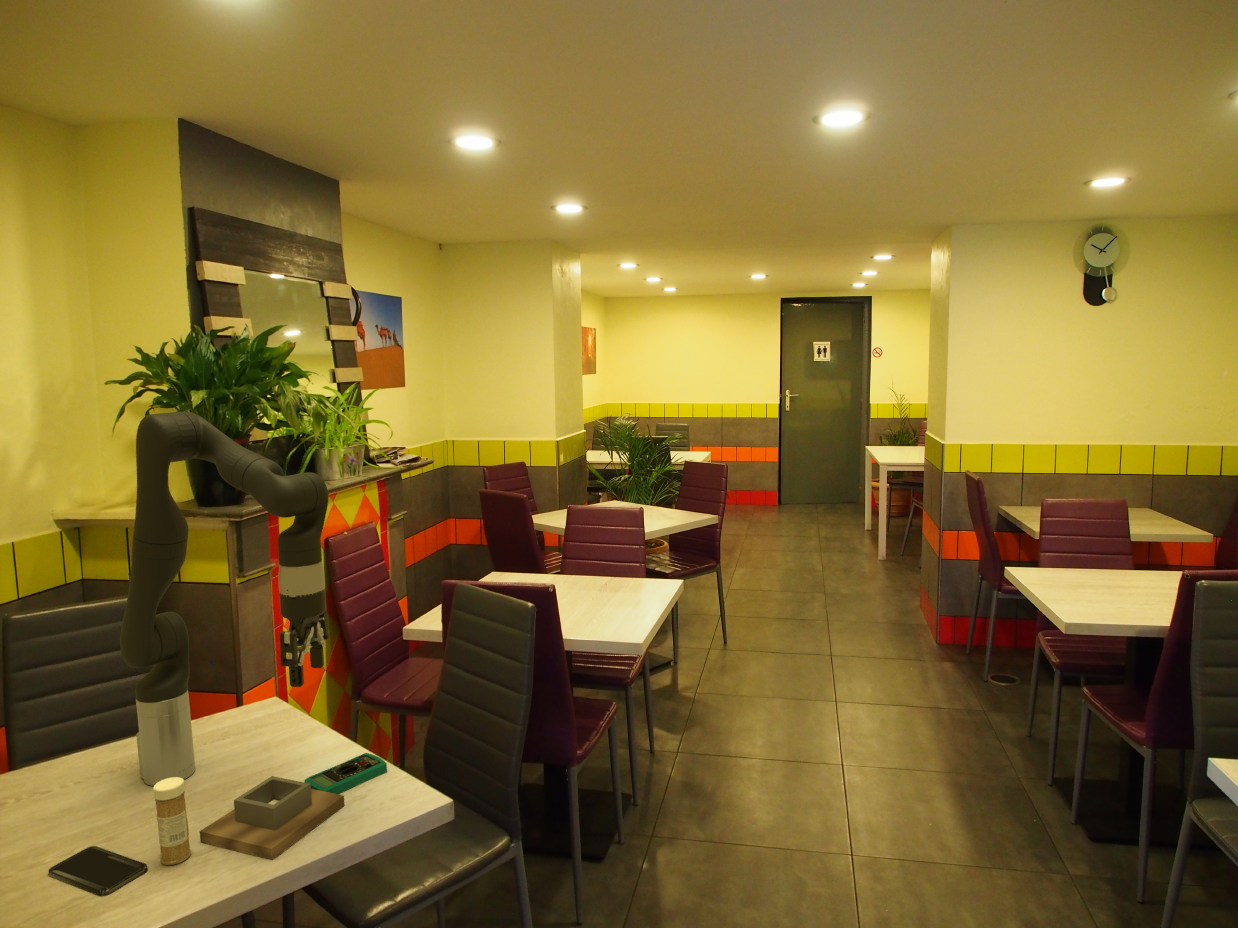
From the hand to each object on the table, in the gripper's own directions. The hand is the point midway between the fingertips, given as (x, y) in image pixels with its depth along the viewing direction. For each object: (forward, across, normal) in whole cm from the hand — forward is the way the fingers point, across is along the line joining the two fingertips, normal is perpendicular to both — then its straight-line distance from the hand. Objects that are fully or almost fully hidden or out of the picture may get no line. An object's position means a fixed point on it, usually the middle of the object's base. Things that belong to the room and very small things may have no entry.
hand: (307, 676), depth 146 cm
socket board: (+27, +1, -7) cm, 28 cm away
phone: (+28, +16, -30) cm, 44 cm away
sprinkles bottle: (+27, +12, -19) cm, 35 cm away
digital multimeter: (+28, -14, 0) cm, 31 cm away
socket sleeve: (+25, +1, -7) cm, 26 cm away
